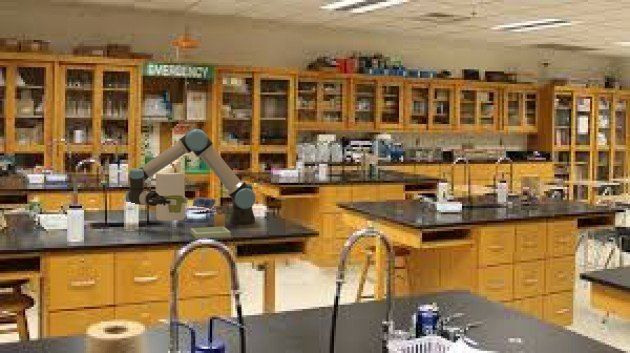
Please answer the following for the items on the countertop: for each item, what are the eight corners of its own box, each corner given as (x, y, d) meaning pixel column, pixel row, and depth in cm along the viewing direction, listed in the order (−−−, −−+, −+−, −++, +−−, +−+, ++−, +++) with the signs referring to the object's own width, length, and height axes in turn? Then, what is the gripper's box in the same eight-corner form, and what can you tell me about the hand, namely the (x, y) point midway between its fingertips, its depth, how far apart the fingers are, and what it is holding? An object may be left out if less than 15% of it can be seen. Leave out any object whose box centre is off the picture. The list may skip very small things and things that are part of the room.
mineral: (196, 214, 438) (196, 198, 437) (191, 212, 446) (191, 197, 445) (218, 213, 445) (217, 197, 444) (212, 211, 453) (212, 196, 452)
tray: (223, 232, 375) (223, 226, 375) (230, 237, 358) (230, 232, 358) (190, 233, 369) (190, 228, 369) (196, 239, 352) (196, 233, 352)
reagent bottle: (223, 229, 384) (223, 205, 383) (226, 230, 379) (226, 207, 377) (213, 229, 382) (213, 206, 381) (215, 231, 377) (215, 207, 375)
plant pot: (177, 210, 374) (177, 194, 373) (187, 212, 367) (187, 196, 366) (162, 212, 367) (162, 195, 367) (172, 214, 361) (172, 197, 360)
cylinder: (182, 221, 412) (181, 174, 410) (153, 220, 412) (152, 174, 410) (187, 216, 429) (187, 171, 427) (160, 216, 430) (159, 171, 427)
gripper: (163, 203, 385) (194, 206, 374) (135, 207, 367) (167, 211, 356) (163, 189, 384) (194, 192, 373) (135, 193, 366) (167, 196, 355)
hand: (181, 201), depth 364 cm, fingers closed on plant pot, 8 cm apart
